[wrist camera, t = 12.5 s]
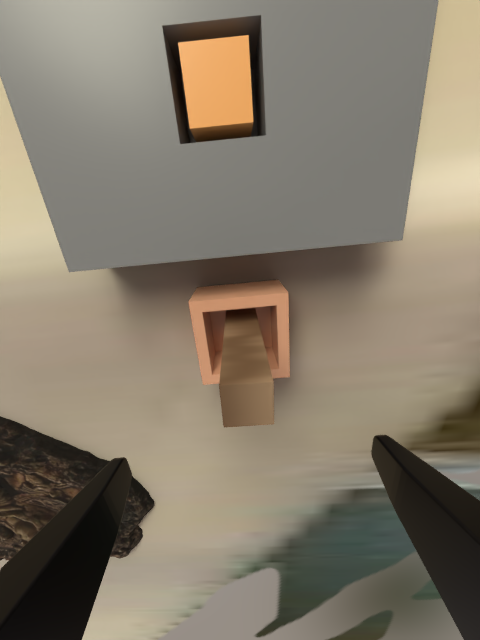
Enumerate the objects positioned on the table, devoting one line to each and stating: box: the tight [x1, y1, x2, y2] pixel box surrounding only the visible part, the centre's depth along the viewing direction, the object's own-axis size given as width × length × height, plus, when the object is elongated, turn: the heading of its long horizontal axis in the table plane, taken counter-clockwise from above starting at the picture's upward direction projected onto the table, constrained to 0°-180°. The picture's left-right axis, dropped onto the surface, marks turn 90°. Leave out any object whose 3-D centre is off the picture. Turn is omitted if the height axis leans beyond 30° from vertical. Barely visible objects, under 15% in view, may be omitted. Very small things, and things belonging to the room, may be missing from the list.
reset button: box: [178, 35, 253, 142], centre depth 13 cm, size 3×3×4 cm
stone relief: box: [0, 417, 154, 560], centre depth 27 cm, size 26×4×30 cm
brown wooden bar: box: [219, 308, 274, 427], centre depth 16 cm, size 2×2×10 cm
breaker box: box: [0, 0, 438, 272], centre depth 14 cm, size 20×16×4 cm
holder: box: [189, 280, 290, 385], centre depth 19 cm, size 7×7×4 cm
